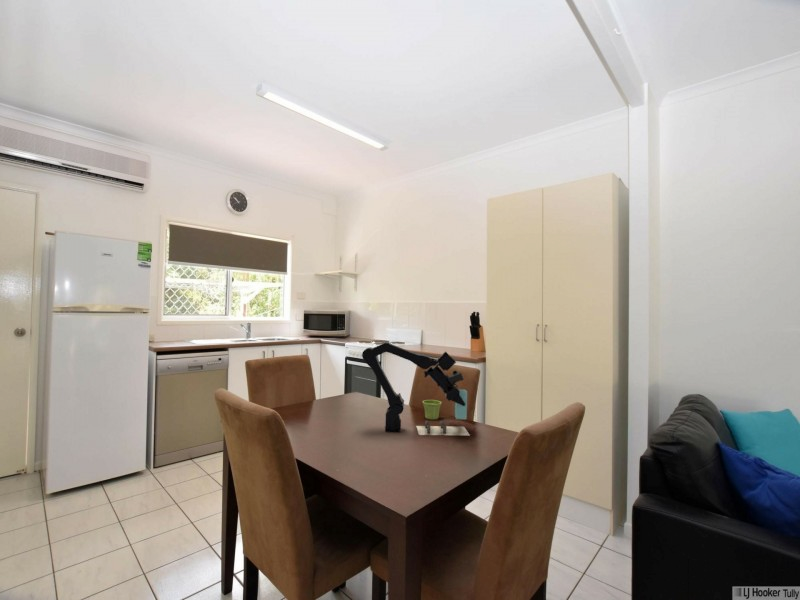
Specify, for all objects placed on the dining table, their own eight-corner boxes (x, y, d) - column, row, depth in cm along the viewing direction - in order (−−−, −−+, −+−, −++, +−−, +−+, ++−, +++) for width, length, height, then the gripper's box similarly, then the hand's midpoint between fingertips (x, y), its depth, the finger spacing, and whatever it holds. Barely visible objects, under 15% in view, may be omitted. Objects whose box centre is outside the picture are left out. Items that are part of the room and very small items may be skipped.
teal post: (456, 419, 164) (457, 391, 164) (454, 416, 168) (455, 389, 168) (466, 419, 164) (467, 391, 164) (464, 416, 168) (465, 389, 169)
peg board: (418, 437, 159) (419, 427, 159) (416, 428, 171) (416, 419, 171) (470, 437, 160) (470, 428, 160) (463, 428, 172) (464, 420, 172)
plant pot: (418, 417, 188) (419, 400, 188) (435, 416, 192) (435, 399, 192) (427, 423, 179) (428, 404, 179) (444, 421, 183) (445, 403, 183)
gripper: (454, 368, 158) (480, 396, 157) (451, 362, 176) (474, 387, 175) (435, 386, 158) (461, 414, 157) (434, 378, 176) (456, 403, 176)
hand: (464, 403), depth 166 cm, fingers closed on teal post, 5 cm apart
